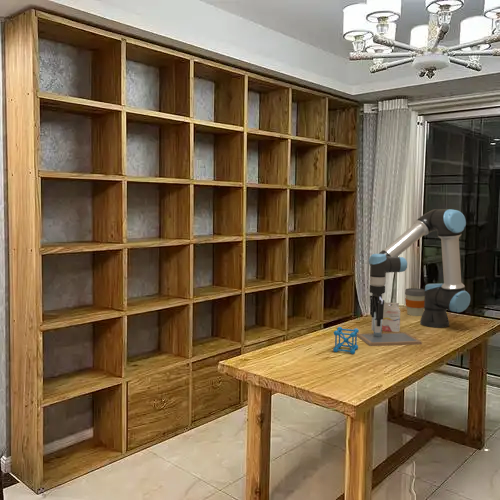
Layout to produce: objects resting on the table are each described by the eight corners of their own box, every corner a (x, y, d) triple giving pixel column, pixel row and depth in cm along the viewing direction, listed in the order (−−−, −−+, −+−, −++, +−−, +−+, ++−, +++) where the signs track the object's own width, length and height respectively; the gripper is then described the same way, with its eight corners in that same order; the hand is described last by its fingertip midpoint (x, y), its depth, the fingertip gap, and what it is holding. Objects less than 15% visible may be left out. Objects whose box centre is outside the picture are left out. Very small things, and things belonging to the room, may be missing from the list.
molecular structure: (332, 352, 240) (333, 330, 239) (337, 346, 249) (337, 325, 248) (354, 354, 236) (355, 333, 235) (358, 349, 246) (359, 328, 245)
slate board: (405, 334, 272) (405, 332, 272) (421, 344, 255) (421, 341, 255) (356, 336, 269) (356, 333, 268) (370, 345, 251) (370, 343, 251)
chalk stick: (379, 334, 267) (380, 311, 266) (382, 336, 263) (383, 313, 262) (372, 335, 266) (372, 311, 265) (375, 337, 262) (375, 313, 261)
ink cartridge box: (383, 331, 279) (384, 304, 277) (381, 329, 284) (382, 302, 282) (399, 332, 278) (400, 304, 276) (398, 329, 283) (399, 302, 281)
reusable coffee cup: (405, 316, 315) (406, 291, 314) (403, 311, 328) (403, 287, 326) (427, 317, 313) (428, 292, 312) (424, 312, 326) (425, 288, 324)
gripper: (364, 282, 270) (362, 327, 272) (376, 287, 253) (375, 335, 256) (378, 282, 271) (376, 327, 273) (391, 287, 254) (389, 335, 257)
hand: (375, 331), depth 264 cm, fingers closed on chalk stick, 4 cm apart
